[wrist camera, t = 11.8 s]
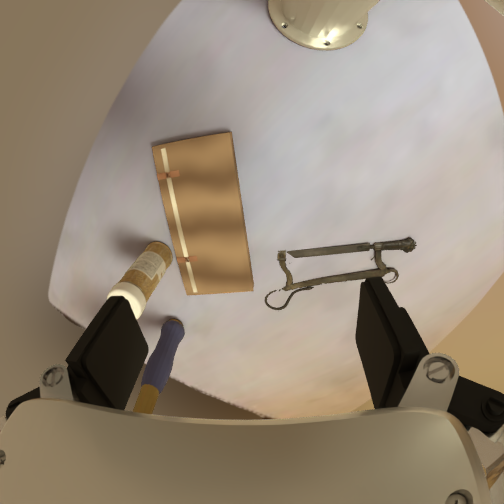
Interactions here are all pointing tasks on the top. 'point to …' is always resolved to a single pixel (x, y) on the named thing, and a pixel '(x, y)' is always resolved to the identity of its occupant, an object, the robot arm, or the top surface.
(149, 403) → the rubber mallet
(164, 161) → the board
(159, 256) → the sprinkles bottle
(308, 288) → the hacksaw
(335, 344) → the top surface
